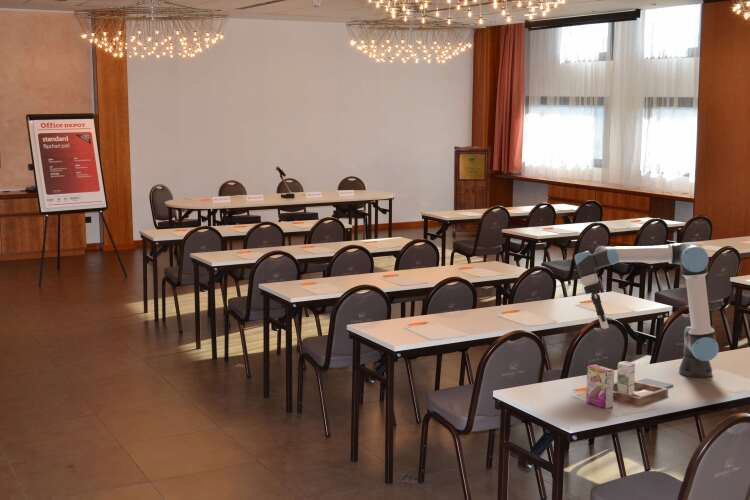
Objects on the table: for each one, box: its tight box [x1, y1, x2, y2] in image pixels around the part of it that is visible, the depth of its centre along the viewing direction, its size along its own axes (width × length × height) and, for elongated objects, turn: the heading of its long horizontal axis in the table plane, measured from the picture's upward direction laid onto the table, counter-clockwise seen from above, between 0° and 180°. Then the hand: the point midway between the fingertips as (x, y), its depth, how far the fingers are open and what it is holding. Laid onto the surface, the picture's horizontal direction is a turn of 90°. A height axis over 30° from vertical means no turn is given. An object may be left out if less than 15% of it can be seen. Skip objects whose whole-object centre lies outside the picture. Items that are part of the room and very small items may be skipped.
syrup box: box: [616, 360, 636, 396], centre depth 404 cm, size 6×6×14 cm
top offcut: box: [631, 390, 652, 397], centre depth 398 cm, size 5×10×1 cm, turn 134°
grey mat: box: [637, 377, 674, 389], centre depth 418 cm, size 14×14×1 cm
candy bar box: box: [585, 364, 615, 410], centre depth 388 cm, size 11×5×16 cm, turn 33°
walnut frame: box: [613, 380, 669, 407], centre depth 402 cm, size 22×23×4 cm
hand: (605, 327), depth 425 cm, fingers open, 13 cm apart
